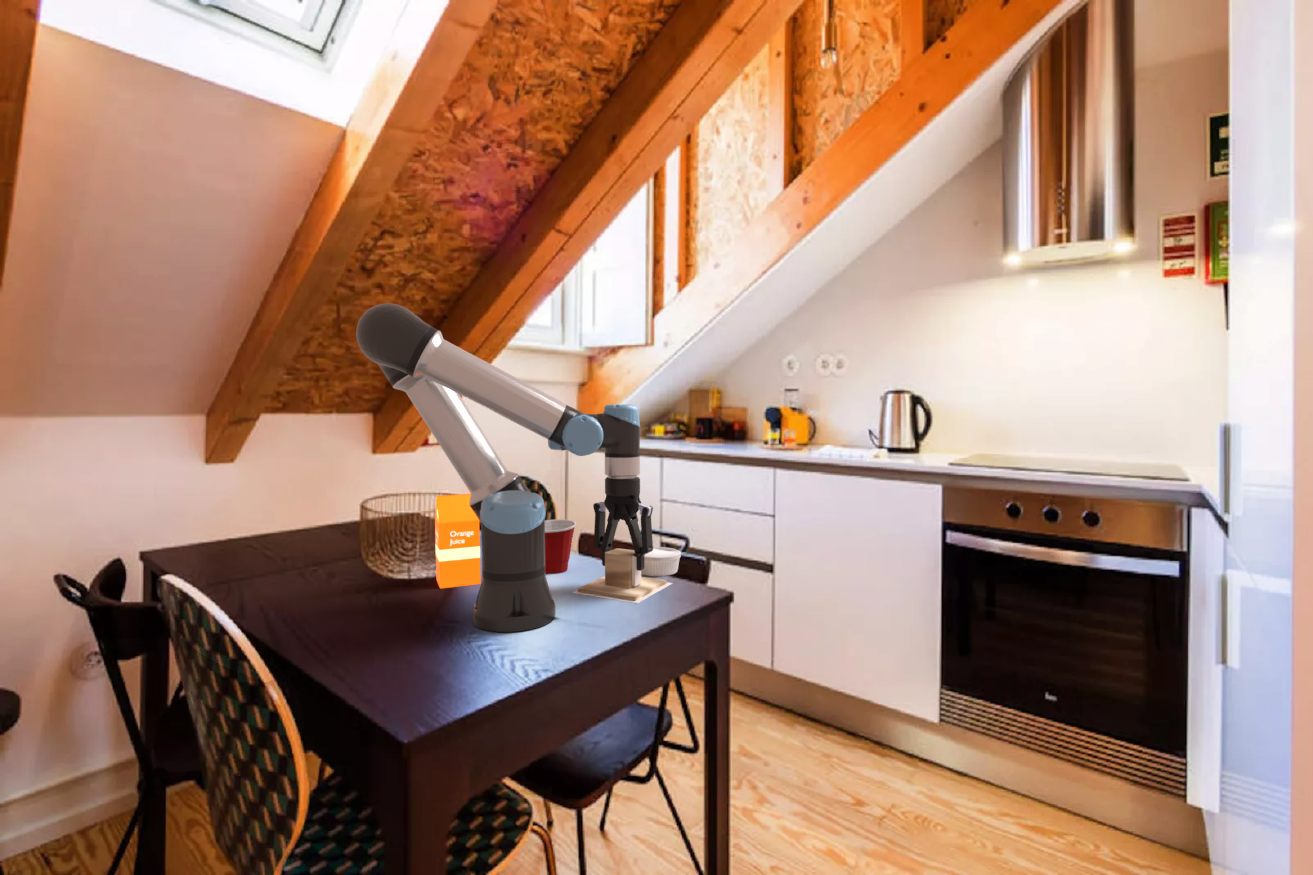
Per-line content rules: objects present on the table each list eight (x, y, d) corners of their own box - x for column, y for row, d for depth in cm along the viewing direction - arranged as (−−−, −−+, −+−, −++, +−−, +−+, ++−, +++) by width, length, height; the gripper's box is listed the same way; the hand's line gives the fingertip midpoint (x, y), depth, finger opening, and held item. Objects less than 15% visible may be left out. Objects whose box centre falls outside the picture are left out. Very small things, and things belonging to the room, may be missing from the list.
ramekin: (685, 569, 159) (685, 547, 158) (675, 581, 148) (675, 558, 148) (640, 566, 161) (640, 545, 161) (628, 578, 151) (627, 555, 150)
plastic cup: (521, 575, 153) (520, 524, 152) (550, 565, 162) (549, 517, 162) (558, 581, 148) (557, 529, 147) (586, 570, 157) (585, 521, 156)
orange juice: (480, 583, 146) (479, 495, 145) (439, 588, 142) (437, 498, 141) (475, 575, 153) (473, 491, 152) (435, 579, 149) (433, 493, 148)
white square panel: (637, 606, 130) (637, 603, 130) (571, 595, 137) (571, 592, 137) (672, 585, 144) (672, 583, 144) (610, 577, 151) (610, 574, 151)
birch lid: (635, 601, 131) (635, 562, 131) (577, 591, 137) (577, 555, 137) (666, 583, 143) (666, 548, 143) (612, 576, 150) (612, 542, 149)
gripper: (670, 476, 138) (670, 584, 139) (594, 472, 147) (595, 573, 148) (653, 480, 131) (654, 593, 133) (575, 475, 140) (576, 581, 141)
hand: (623, 582), depth 140 cm, fingers closed on birch lid, 6 cm apart
